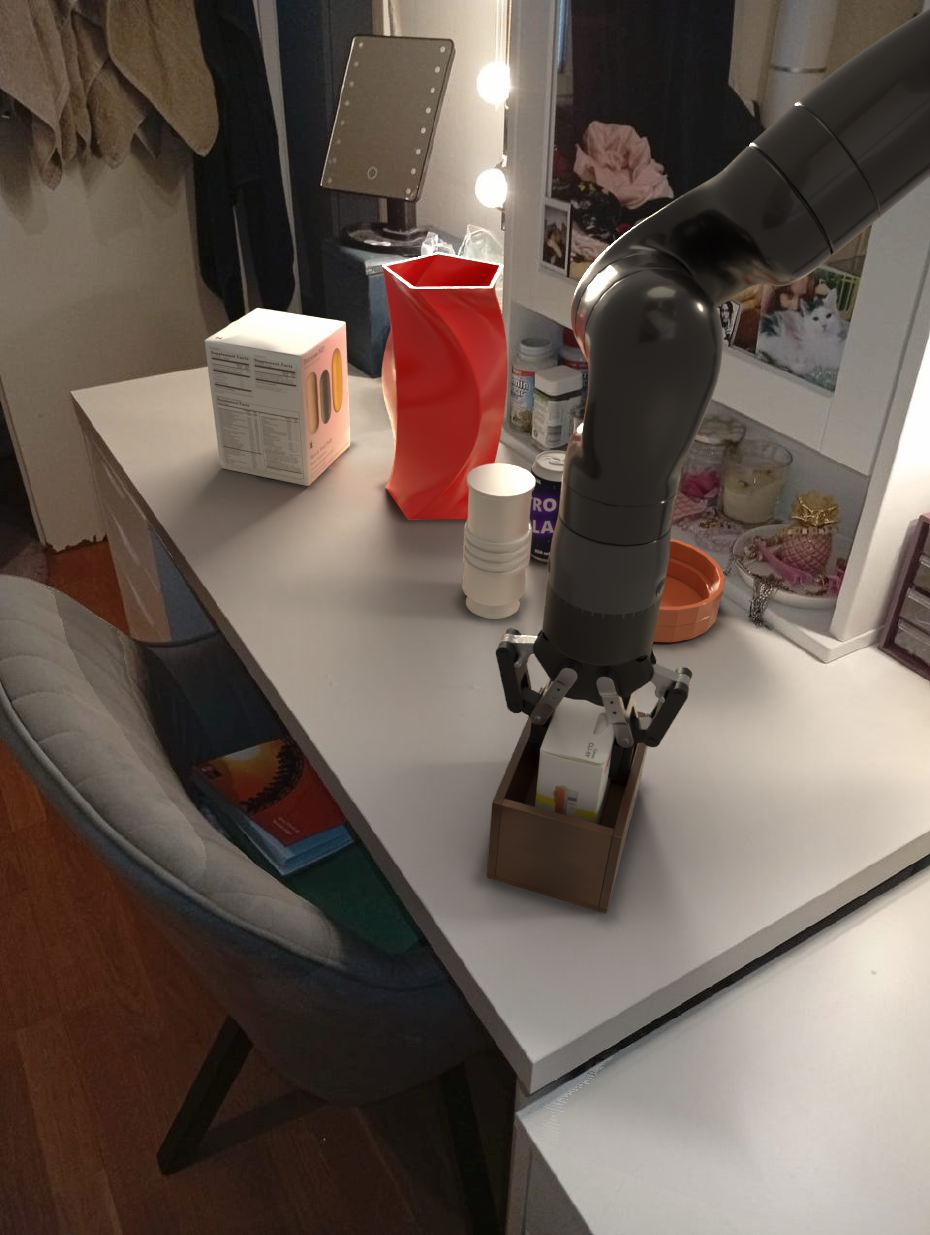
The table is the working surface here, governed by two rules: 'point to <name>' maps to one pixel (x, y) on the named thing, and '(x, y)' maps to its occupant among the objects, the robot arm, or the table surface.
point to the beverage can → (545, 501)
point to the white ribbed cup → (497, 539)
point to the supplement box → (280, 394)
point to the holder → (559, 834)
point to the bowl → (688, 594)
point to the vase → (442, 379)
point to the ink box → (576, 761)
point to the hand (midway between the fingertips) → (578, 761)
